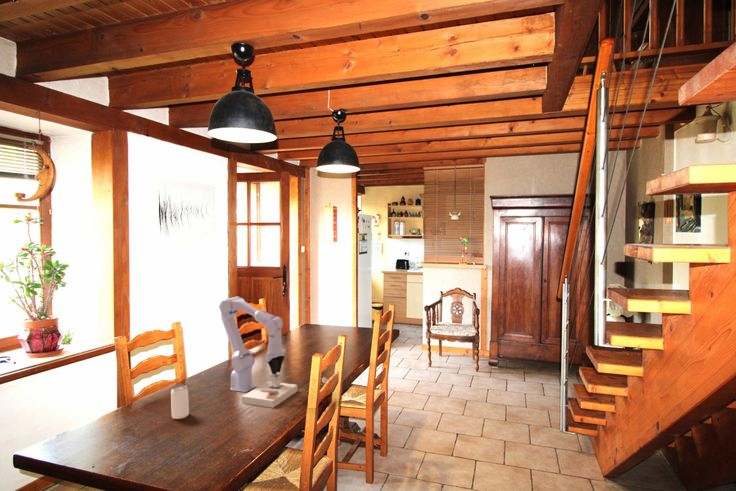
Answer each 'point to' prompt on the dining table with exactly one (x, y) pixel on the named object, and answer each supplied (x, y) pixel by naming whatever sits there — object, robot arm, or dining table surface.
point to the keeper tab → (269, 391)
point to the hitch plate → (269, 395)
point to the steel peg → (276, 381)
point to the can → (179, 402)
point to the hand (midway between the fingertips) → (276, 372)
